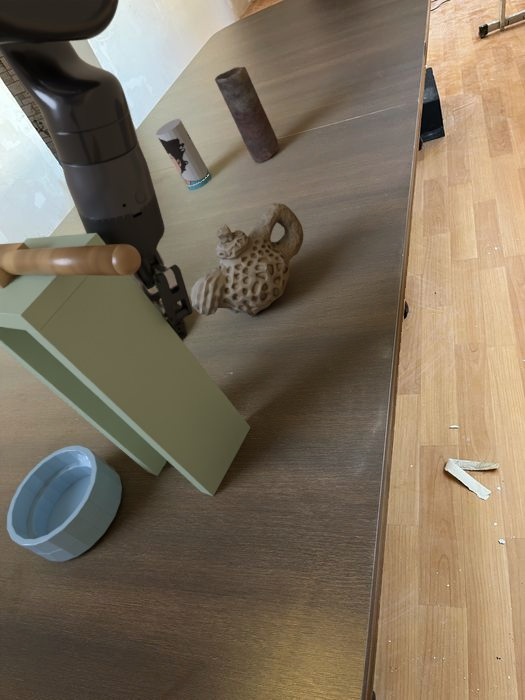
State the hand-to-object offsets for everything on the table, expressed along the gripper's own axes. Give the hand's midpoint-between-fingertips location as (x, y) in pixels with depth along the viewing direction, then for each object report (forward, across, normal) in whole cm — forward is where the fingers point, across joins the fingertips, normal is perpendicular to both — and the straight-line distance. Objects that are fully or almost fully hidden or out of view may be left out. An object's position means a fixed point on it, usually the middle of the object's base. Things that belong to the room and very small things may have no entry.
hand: (158, 323), depth 58 cm
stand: (+17, +6, -3) cm, 19 cm away
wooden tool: (-14, +4, -9) cm, 18 cm away
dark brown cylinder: (+12, -47, +59) cm, 77 cm away
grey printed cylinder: (+18, -60, +47) cm, 78 cm away
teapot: (+14, -7, +22) cm, 27 cm away
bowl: (+23, -2, -18) cm, 29 cm away
